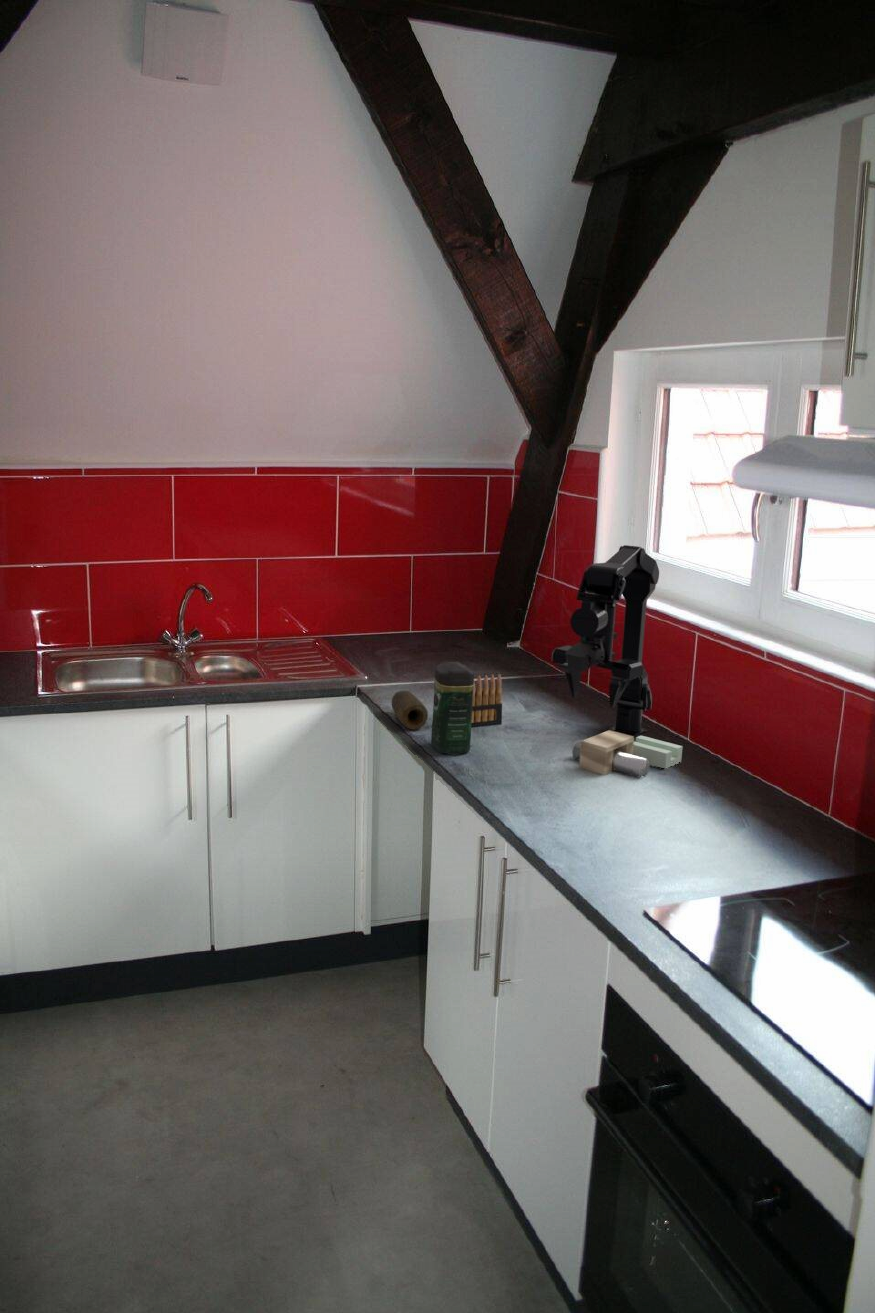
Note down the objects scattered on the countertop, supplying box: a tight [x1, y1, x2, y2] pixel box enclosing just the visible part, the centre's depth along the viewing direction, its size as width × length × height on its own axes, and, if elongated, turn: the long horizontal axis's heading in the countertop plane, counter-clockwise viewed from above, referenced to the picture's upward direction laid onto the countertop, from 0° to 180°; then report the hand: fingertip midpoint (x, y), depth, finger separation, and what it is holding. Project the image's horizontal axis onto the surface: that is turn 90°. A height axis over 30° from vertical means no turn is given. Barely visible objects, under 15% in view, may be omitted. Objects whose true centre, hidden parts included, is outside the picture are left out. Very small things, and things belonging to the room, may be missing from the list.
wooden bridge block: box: [578, 729, 635, 776], centre depth 228 cm, size 11×6×6 cm, turn 140°
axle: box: [572, 740, 650, 778], centre depth 228 cm, size 16×4×4 cm, turn 50°
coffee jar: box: [430, 661, 475, 755], centre depth 233 cm, size 10×8×19 cm
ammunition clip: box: [471, 673, 503, 729], centre depth 251 cm, size 11×2×12 cm, turn 117°
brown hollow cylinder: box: [391, 690, 429, 731], centre depth 251 cm, size 15×7×7 cm, turn 17°
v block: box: [633, 735, 684, 769], centre depth 233 cm, size 7×10×4 cm
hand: (593, 702), depth 225 cm, fingers open, 9 cm apart
